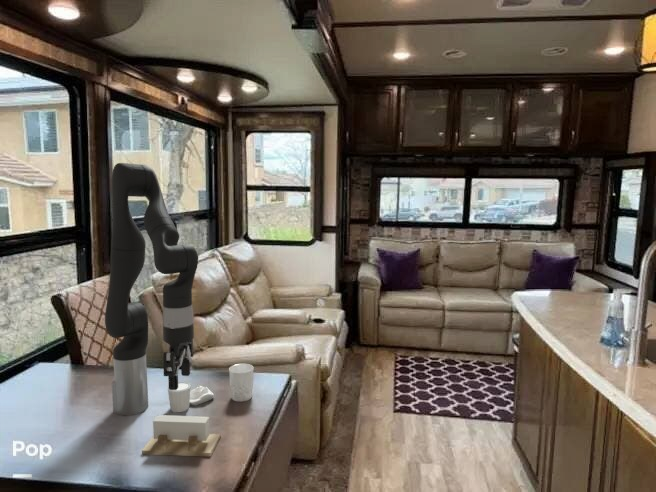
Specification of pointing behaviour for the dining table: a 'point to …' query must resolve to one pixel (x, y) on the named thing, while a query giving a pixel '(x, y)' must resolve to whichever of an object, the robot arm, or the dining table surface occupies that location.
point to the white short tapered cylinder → (180, 397)
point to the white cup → (241, 382)
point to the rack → (182, 446)
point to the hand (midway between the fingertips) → (179, 382)
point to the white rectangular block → (181, 427)
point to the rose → (200, 395)
